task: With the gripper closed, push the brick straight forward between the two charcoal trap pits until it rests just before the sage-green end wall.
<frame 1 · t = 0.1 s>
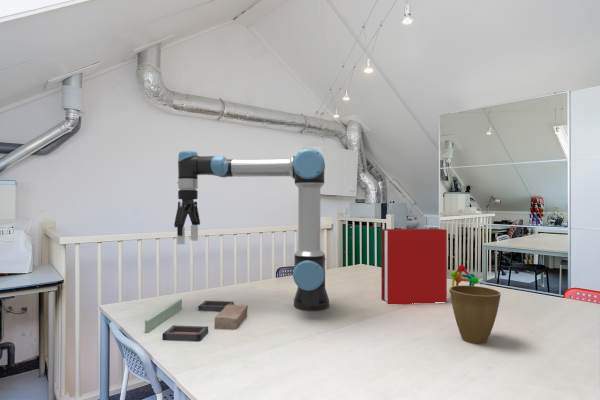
hand: (187, 242, 152), 28 cm above the table, tool pointing down, fingers open, 13 cm apart
brick: (231, 323, 140), on the table
plant pot: (474, 340, 122), on the table
sage end wall: (165, 319, 142), on the table
educational toy: (462, 296, 178), on the table
trap pits: (202, 320, 141), on the table
book: (414, 302, 168), on the table
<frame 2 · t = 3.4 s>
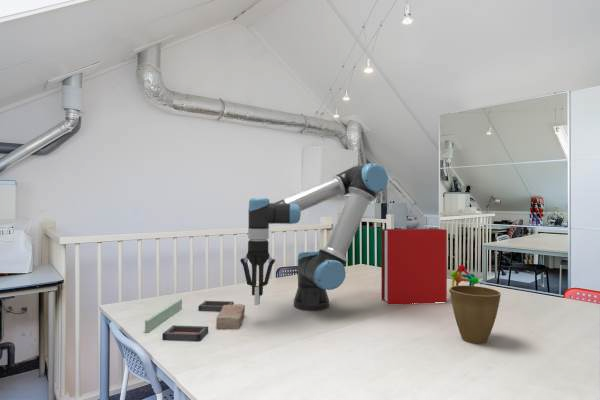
hand: (257, 304, 139), 7 cm above the table, tool pointing down, fingers closed
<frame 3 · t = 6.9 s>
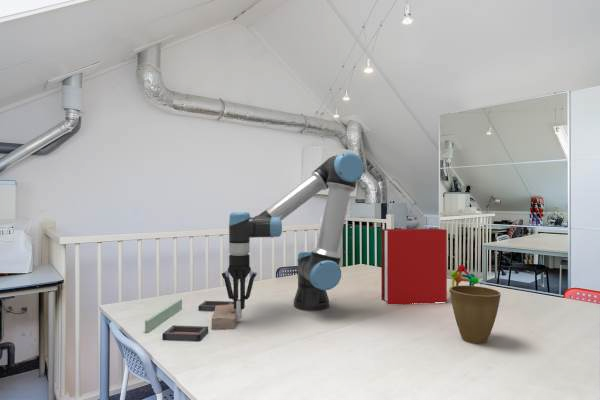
hand: (239, 317, 139), 2 cm above the table, tool pointing down, fingers closed
brick: (225, 323, 140), on the table
everything else where it was.
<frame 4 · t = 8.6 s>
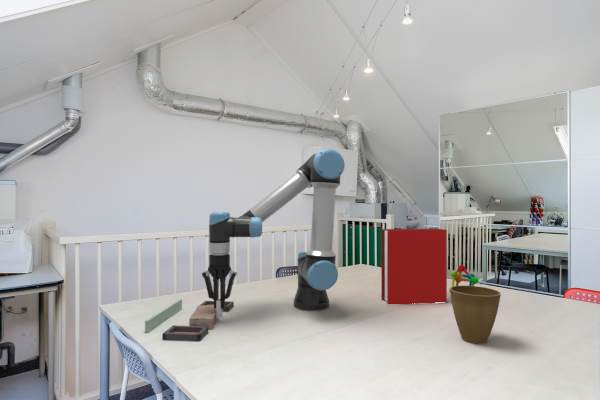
hand: (219, 317, 140), 2 cm above the table, tool pointing down, fingers closed
brick: (205, 323, 139), on the table, touching gripper
everything else where it was.
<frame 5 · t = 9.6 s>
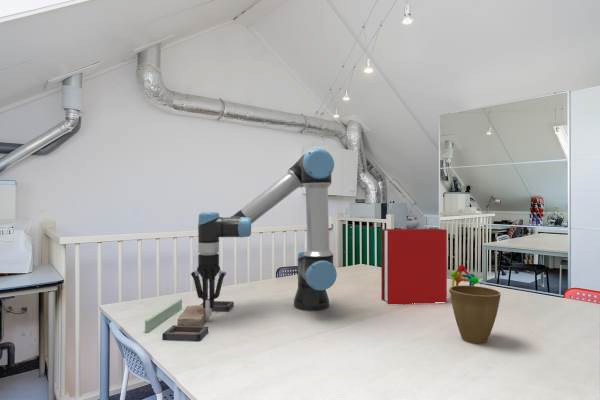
hand: (208, 316, 141), 2 cm above the table, tool pointing down, fingers closed
brick: (193, 324, 139), on the table, touching gripper
everything else where it was.
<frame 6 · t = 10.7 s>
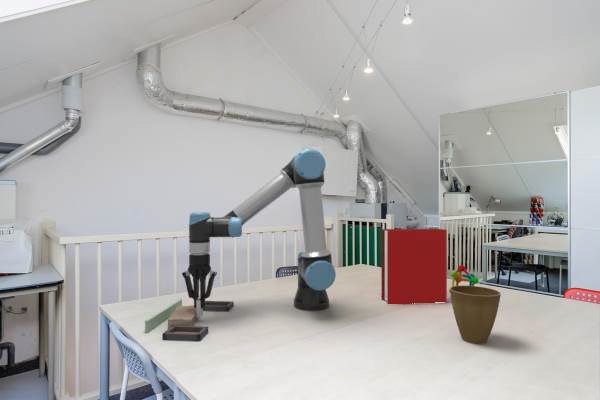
hand: (199, 316, 141), 1 cm above the table, tool pointing down, fingers closed
brick: (184, 324, 138), on the table, touching gripper
everything else where it was.
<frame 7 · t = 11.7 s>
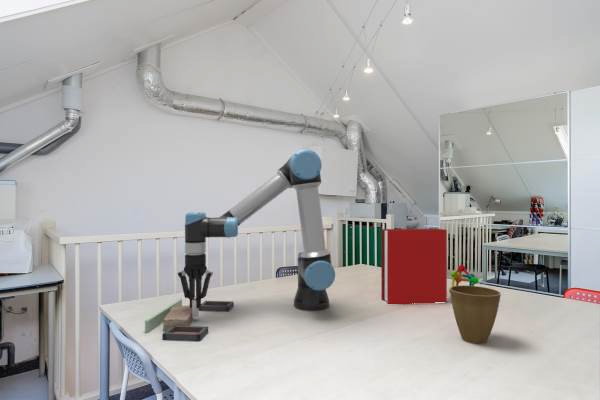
hand: (195, 316, 141), 1 cm above the table, tool pointing down, fingers closed
brick: (179, 324, 138), on the table
everything else where it was.
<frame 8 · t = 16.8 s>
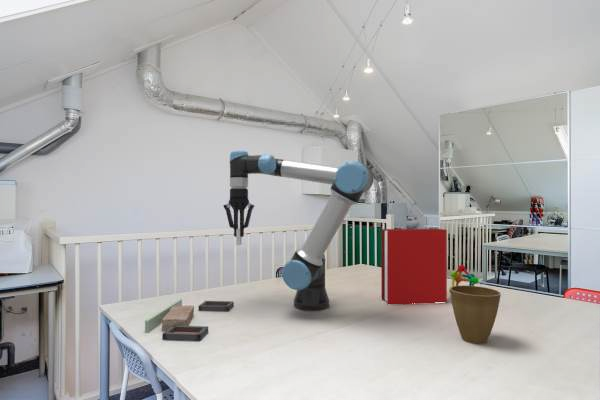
hand: (238, 244, 158), 26 cm above the table, tool pointing down, fingers closed
nothing on the table moved.
at the end: brick inside the target area (3.7 cm from its centre), on the table; brick on the table; brick touching table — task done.
